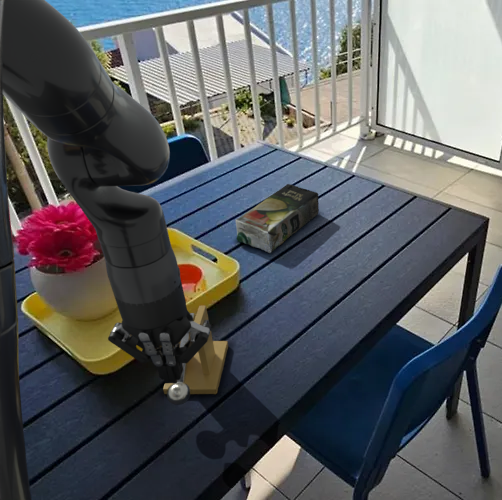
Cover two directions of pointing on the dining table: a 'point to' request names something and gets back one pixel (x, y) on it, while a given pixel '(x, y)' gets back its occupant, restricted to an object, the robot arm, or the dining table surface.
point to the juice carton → (277, 217)
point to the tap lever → (180, 390)
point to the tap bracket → (205, 362)
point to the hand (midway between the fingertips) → (173, 378)
